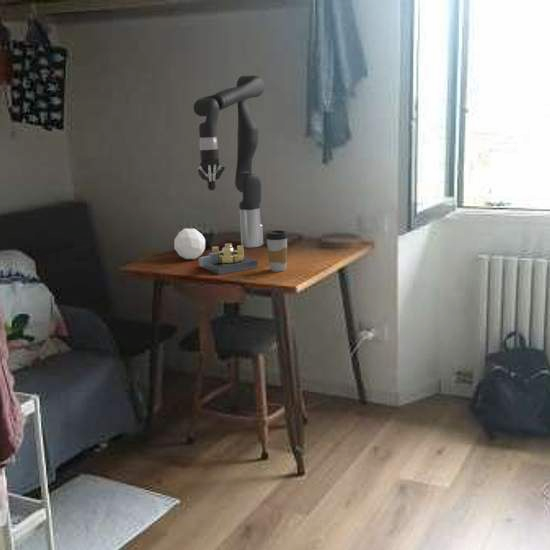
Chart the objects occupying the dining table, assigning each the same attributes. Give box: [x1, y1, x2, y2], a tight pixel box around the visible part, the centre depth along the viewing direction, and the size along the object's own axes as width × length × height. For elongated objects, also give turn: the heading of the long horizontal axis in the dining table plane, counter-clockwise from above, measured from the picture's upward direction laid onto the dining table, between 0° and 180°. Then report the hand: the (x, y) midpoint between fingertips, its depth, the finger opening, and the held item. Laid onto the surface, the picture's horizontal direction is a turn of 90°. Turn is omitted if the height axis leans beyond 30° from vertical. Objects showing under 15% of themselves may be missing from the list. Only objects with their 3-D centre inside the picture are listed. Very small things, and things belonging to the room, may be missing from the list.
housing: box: [200, 246, 259, 275], centre depth 291 cm, size 17×17×8 cm
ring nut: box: [198, 243, 245, 267], centre depth 287 cm, size 21×12×5 cm, turn 136°
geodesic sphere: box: [173, 227, 206, 260], centre depth 310 cm, size 14×14×14 cm
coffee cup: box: [265, 229, 288, 273], centre depth 282 cm, size 8×8×15 cm
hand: (211, 190), depth 304 cm, fingers closed
